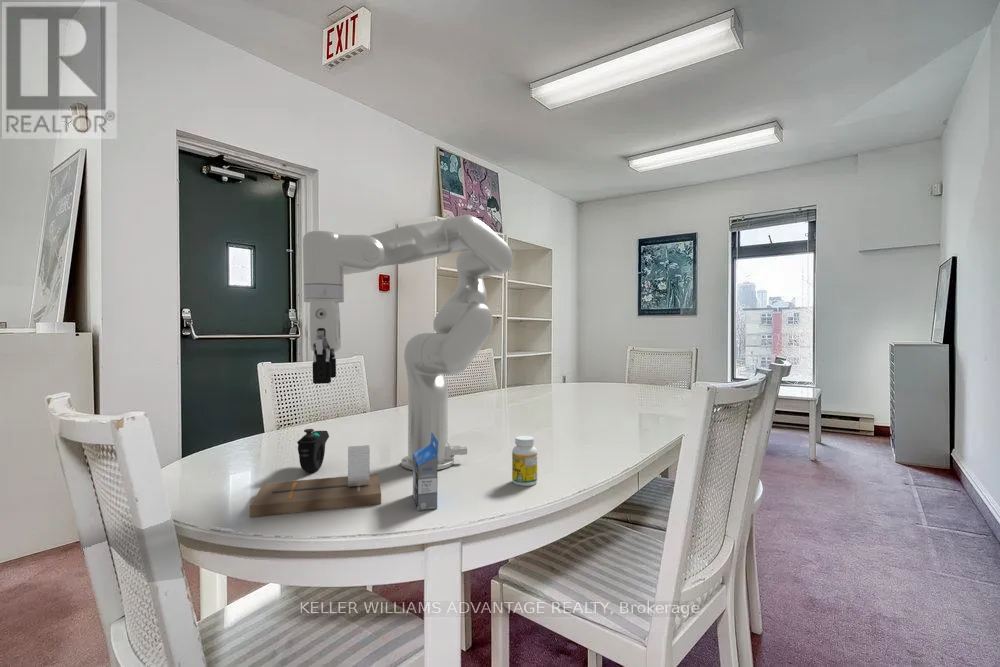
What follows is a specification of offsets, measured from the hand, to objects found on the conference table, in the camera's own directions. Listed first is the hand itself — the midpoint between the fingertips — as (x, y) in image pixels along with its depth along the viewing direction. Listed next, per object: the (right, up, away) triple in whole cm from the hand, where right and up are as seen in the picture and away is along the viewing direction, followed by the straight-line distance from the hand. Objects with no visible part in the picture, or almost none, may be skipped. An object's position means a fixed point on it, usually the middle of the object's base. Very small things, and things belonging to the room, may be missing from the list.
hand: (325, 380), depth 92 cm
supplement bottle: (+40, -23, +6) cm, 47 cm away
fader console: (0, -22, -4) cm, 23 cm away
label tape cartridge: (+21, -23, -5) cm, 31 cm away
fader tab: (+7, -20, -2) cm, 21 cm away
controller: (-8, -22, +15) cm, 28 cm away
